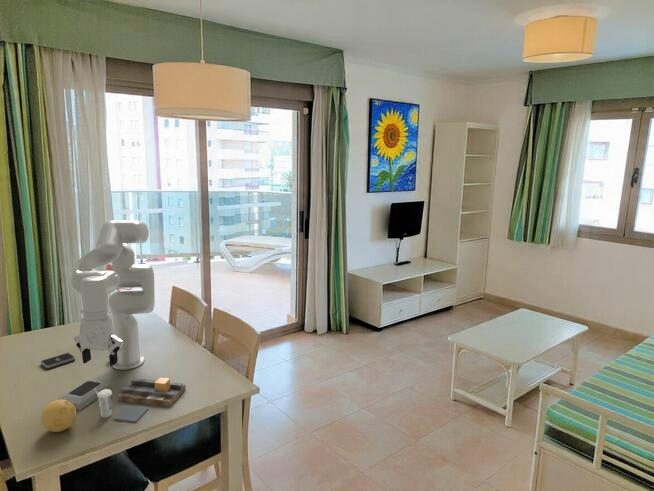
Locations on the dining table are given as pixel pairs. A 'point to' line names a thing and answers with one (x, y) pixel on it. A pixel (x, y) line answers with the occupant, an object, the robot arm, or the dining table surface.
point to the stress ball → (58, 415)
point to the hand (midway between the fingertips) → (100, 362)
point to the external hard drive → (57, 361)
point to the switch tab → (162, 384)
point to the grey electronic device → (85, 393)
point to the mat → (131, 413)
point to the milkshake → (105, 402)
